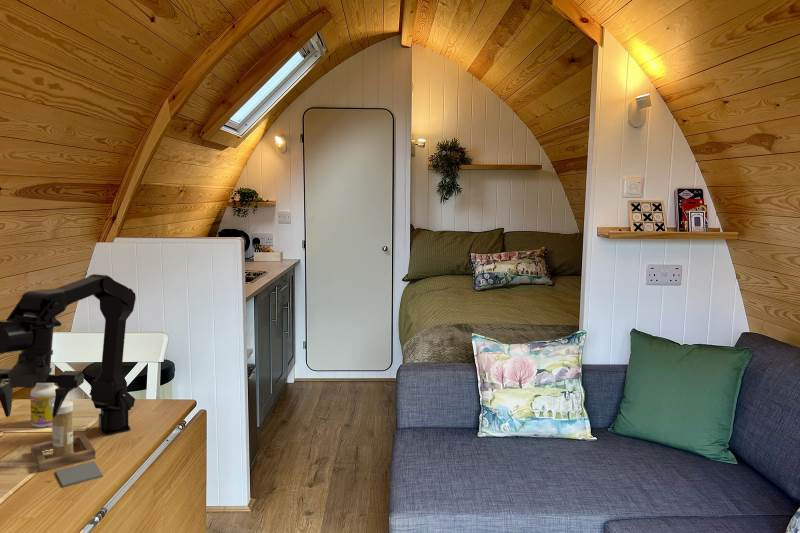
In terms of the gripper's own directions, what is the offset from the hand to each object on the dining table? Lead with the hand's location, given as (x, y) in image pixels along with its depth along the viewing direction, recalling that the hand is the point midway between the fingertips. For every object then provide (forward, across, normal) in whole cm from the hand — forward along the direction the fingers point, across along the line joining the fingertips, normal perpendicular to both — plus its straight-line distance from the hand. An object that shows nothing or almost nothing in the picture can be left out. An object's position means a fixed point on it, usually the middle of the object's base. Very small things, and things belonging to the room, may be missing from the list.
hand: (31, 416), depth 122 cm
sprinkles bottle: (+13, +4, +11) cm, 18 cm away
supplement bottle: (+12, -7, +32) cm, 34 cm away
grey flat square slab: (+14, +10, +1) cm, 17 cm away
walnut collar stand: (+13, +4, +11) cm, 18 cm away
